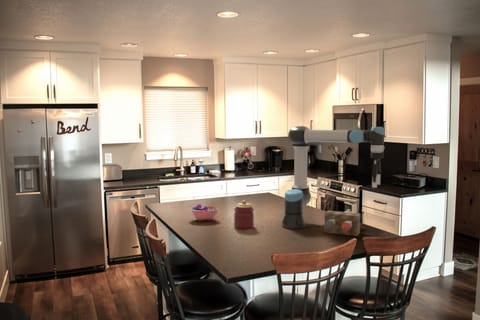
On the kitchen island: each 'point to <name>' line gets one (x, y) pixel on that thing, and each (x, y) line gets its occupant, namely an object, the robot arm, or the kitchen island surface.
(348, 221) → the red plug
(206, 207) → the cell model
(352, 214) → the walnut plug block
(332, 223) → the graphite plug
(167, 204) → the kitchen island surface
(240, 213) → the canister
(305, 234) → the kitchen island surface
